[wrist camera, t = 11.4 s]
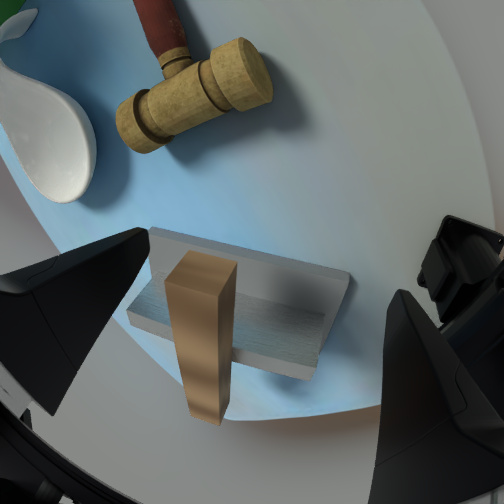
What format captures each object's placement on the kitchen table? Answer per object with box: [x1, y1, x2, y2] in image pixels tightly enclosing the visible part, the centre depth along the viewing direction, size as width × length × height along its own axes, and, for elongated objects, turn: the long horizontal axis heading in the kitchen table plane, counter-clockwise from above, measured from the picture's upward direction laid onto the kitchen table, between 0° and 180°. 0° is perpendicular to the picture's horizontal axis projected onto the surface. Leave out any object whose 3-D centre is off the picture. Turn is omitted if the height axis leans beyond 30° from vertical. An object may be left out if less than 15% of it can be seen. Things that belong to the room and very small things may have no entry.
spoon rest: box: [0, 8, 97, 204], centre depth 18 cm, size 24×12×7 cm, turn 26°
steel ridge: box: [126, 270, 325, 381], centre depth 24 cm, size 16×2×6 cm, turn 85°
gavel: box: [116, 0, 273, 154], centre depth 14 cm, size 21×5×10 cm
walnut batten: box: [164, 250, 237, 426], centre depth 21 cm, size 18×3×3 cm, turn 175°
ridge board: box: [148, 227, 349, 355], centre depth 27 cm, size 18×10×1 cm, turn 85°
